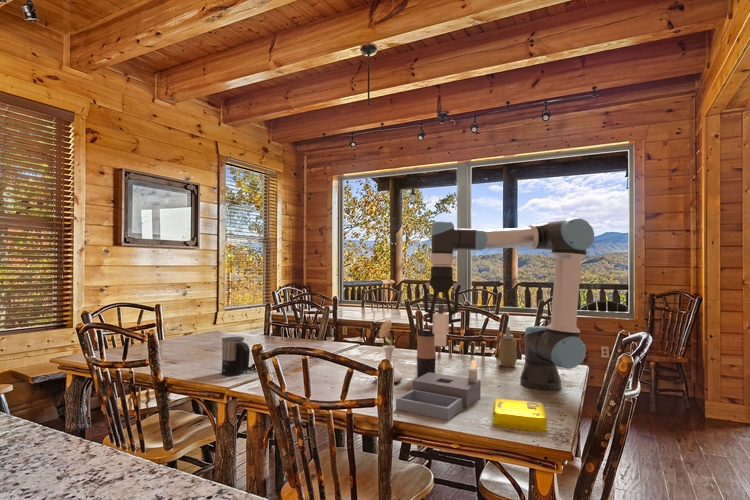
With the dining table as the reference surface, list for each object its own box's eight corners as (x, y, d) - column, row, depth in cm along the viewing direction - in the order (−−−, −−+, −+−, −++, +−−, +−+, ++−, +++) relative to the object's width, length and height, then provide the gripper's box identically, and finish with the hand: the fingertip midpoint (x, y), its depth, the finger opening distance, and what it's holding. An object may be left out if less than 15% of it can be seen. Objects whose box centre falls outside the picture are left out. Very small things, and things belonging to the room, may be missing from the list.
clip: (477, 383, 152) (477, 371, 152) (468, 382, 152) (468, 370, 153) (478, 371, 169) (478, 360, 169) (470, 370, 169) (470, 359, 170)
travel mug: (434, 381, 177) (435, 331, 177) (415, 379, 178) (416, 330, 179) (436, 376, 184) (436, 328, 185) (417, 375, 186) (418, 327, 186)
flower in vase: (374, 377, 181) (375, 316, 182) (402, 377, 181) (402, 317, 181) (373, 386, 168) (374, 320, 169) (403, 386, 168) (404, 321, 168)
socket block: (480, 397, 156) (480, 380, 156) (467, 408, 144) (467, 389, 144) (428, 388, 166) (428, 372, 167) (412, 397, 154) (412, 380, 155)
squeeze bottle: (519, 365, 206) (519, 326, 206) (514, 368, 199) (514, 329, 199) (501, 363, 210) (502, 325, 210) (496, 366, 203) (497, 327, 204)
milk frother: (215, 375, 181) (216, 339, 181) (238, 366, 196) (239, 333, 196) (246, 378, 177) (246, 341, 177) (266, 369, 192) (267, 335, 192)
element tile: (494, 411, 143) (494, 396, 143) (543, 416, 139) (543, 401, 139) (492, 427, 129) (492, 410, 129) (547, 434, 124) (547, 416, 124)
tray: (462, 409, 143) (462, 398, 143) (448, 420, 133) (448, 408, 133) (412, 399, 152) (412, 389, 152) (396, 409, 142) (396, 398, 142)
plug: (445, 342, 157) (446, 303, 158) (446, 348, 147) (447, 306, 147) (434, 342, 158) (435, 303, 158) (434, 347, 147) (435, 305, 148)
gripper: (466, 266, 156) (464, 332, 155) (417, 265, 158) (416, 330, 157) (467, 266, 148) (466, 336, 147) (416, 265, 151) (415, 333, 150)
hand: (440, 333), depth 152 cm, fingers closed on plug, 4 cm apart
